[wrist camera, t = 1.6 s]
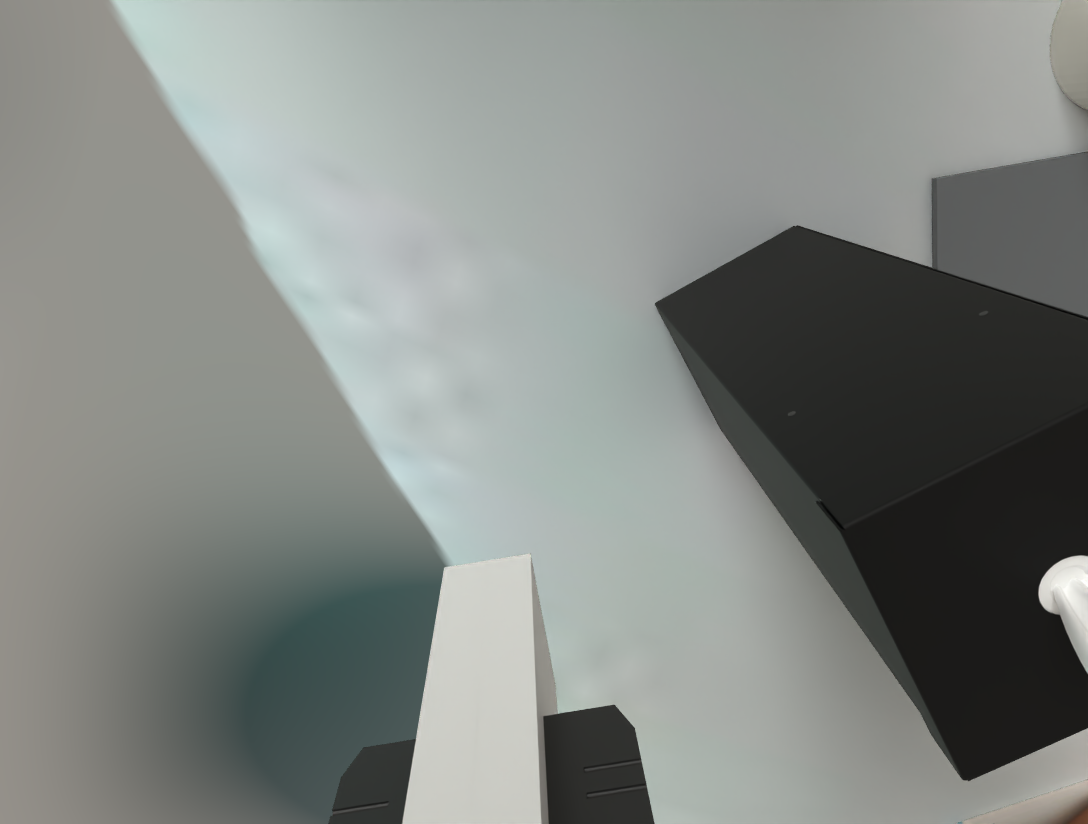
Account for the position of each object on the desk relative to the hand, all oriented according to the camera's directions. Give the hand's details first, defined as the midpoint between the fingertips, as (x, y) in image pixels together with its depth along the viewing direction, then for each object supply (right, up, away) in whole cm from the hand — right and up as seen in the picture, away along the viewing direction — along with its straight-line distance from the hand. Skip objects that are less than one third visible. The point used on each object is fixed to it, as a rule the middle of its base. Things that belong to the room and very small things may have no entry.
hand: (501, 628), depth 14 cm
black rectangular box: (+11, +8, +27) cm, 30 cm away
